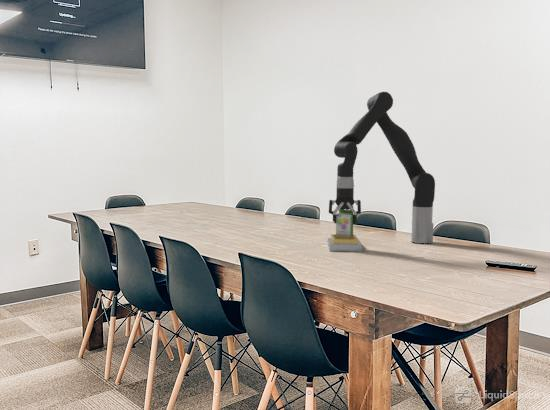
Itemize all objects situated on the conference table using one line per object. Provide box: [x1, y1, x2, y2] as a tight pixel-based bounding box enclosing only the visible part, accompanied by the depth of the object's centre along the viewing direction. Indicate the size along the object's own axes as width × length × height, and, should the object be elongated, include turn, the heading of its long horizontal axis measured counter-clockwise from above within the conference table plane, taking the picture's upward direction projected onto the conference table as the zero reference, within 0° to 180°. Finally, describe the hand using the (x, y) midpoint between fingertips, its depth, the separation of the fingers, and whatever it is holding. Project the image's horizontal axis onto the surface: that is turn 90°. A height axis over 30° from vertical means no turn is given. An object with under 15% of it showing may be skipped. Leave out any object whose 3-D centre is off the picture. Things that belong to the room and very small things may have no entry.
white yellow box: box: [327, 233, 363, 252], centre depth 241 cm, size 14×16×6 cm
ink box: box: [335, 205, 354, 236], centre depth 241 cm, size 7×4×13 cm, turn 62°
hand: (344, 223), depth 241 cm, fingers closed on ink box, 8 cm apart
